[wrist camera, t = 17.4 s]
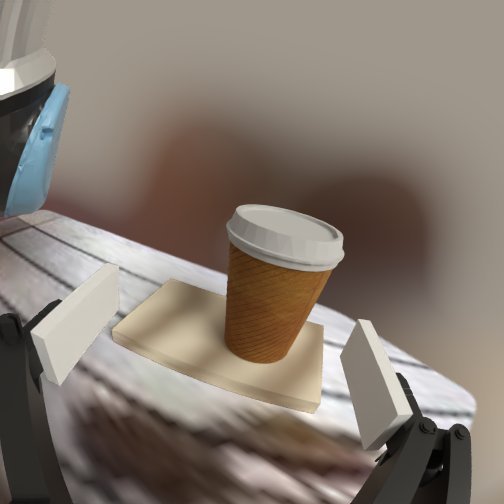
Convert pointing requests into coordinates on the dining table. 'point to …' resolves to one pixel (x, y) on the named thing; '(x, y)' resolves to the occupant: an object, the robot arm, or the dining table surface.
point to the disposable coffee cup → (274, 278)
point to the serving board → (220, 348)
